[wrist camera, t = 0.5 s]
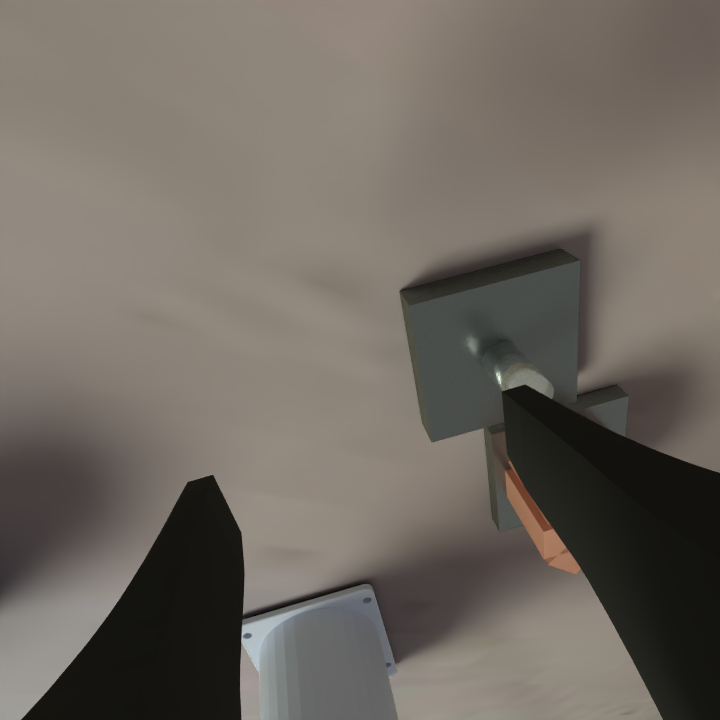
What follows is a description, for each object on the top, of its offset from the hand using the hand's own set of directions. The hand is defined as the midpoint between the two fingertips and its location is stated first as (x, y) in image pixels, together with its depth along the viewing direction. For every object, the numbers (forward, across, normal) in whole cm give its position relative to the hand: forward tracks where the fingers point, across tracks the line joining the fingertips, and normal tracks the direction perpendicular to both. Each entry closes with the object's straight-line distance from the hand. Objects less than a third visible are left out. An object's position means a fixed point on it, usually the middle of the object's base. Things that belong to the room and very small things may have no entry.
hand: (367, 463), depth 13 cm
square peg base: (+10, -7, +4) cm, 12 cm away
